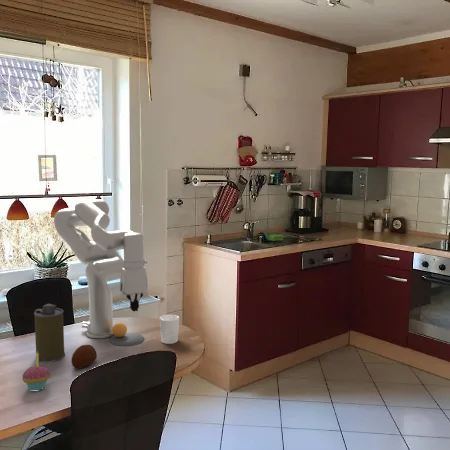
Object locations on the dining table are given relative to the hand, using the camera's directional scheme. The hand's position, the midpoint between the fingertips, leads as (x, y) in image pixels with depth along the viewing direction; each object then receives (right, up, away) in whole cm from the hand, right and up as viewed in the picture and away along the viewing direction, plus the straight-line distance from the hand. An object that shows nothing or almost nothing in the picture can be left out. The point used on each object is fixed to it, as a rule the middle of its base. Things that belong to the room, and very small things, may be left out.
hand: (134, 310), depth 198 cm
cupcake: (-26, -20, -33) cm, 47 cm away
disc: (-5, -14, +10) cm, 18 cm away
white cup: (+13, -14, +9) cm, 21 cm away
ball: (-8, -10, +13) cm, 18 cm away
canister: (-30, -16, -8) cm, 35 cm away
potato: (-15, -18, -16) cm, 28 cm away
